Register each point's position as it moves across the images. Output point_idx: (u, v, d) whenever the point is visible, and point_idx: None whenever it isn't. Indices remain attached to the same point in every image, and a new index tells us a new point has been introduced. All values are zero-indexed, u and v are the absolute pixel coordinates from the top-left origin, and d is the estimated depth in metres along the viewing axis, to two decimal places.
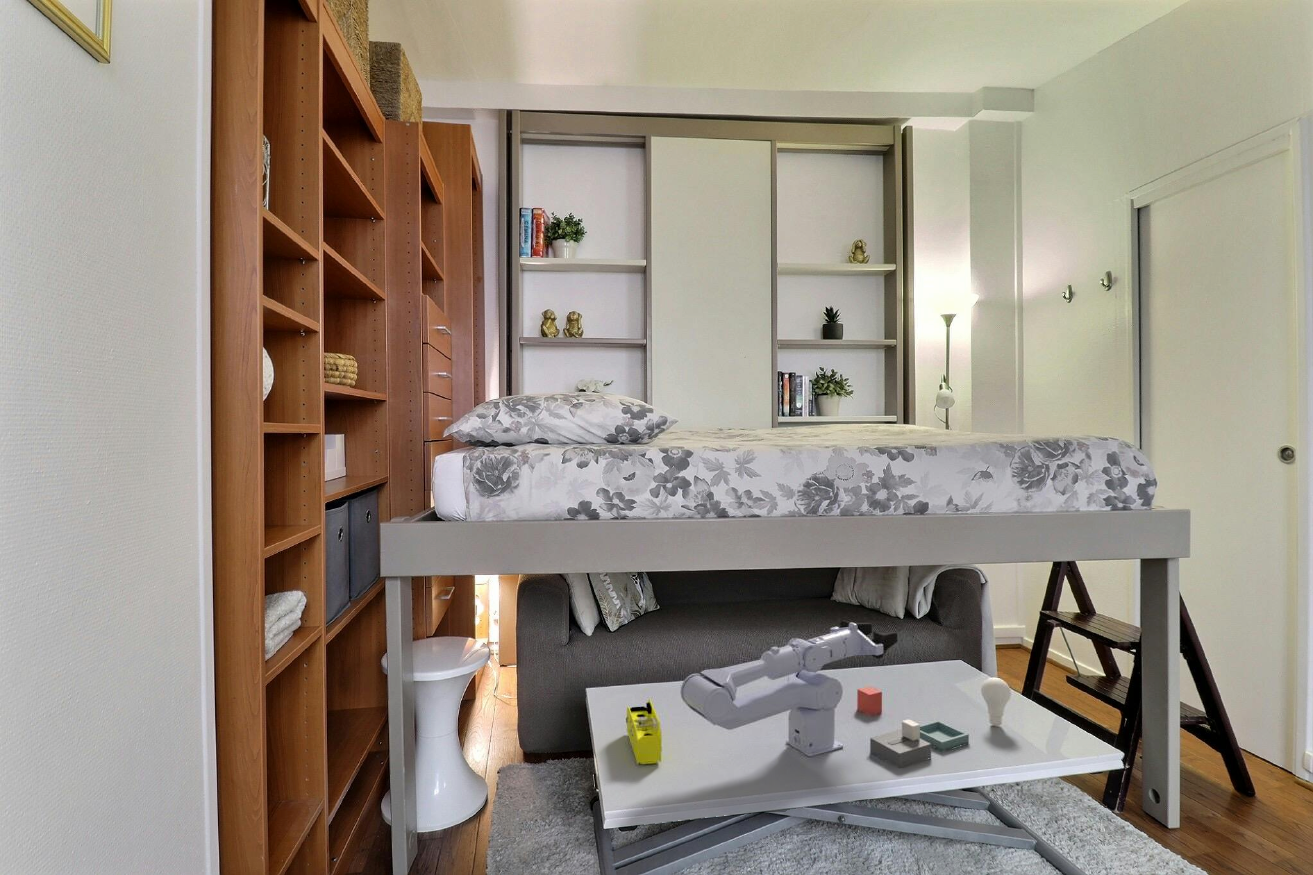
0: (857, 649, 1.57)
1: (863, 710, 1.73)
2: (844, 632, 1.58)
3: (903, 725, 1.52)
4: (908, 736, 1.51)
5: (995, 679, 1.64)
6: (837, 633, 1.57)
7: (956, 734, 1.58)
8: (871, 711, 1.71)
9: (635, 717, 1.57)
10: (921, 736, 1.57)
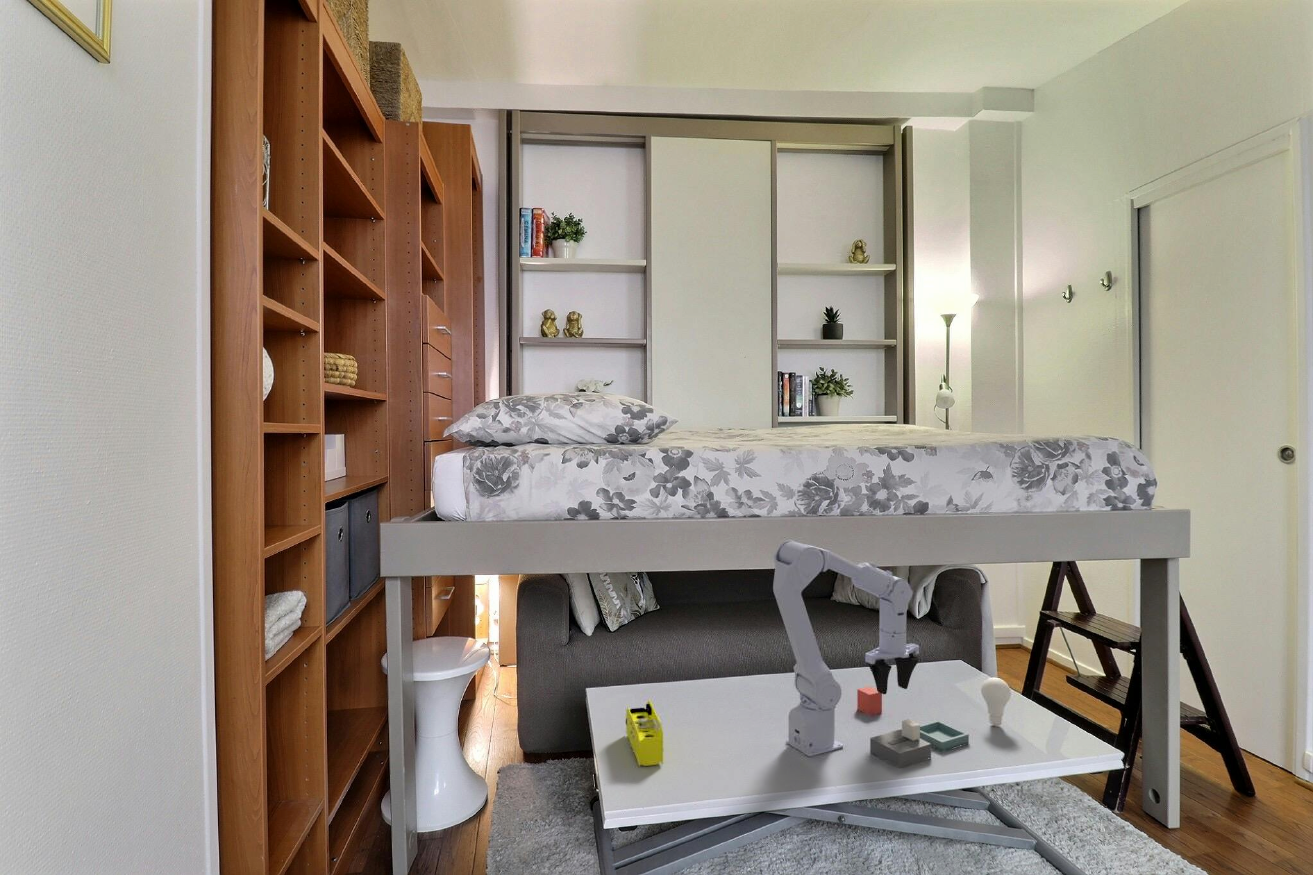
0: (880, 644, 1.61)
1: (863, 710, 1.73)
2: (900, 640, 1.59)
3: (903, 725, 1.52)
4: (908, 736, 1.51)
5: (995, 679, 1.64)
6: (901, 633, 1.59)
7: (956, 734, 1.58)
8: (871, 711, 1.71)
9: (635, 719, 1.57)
10: (921, 736, 1.57)
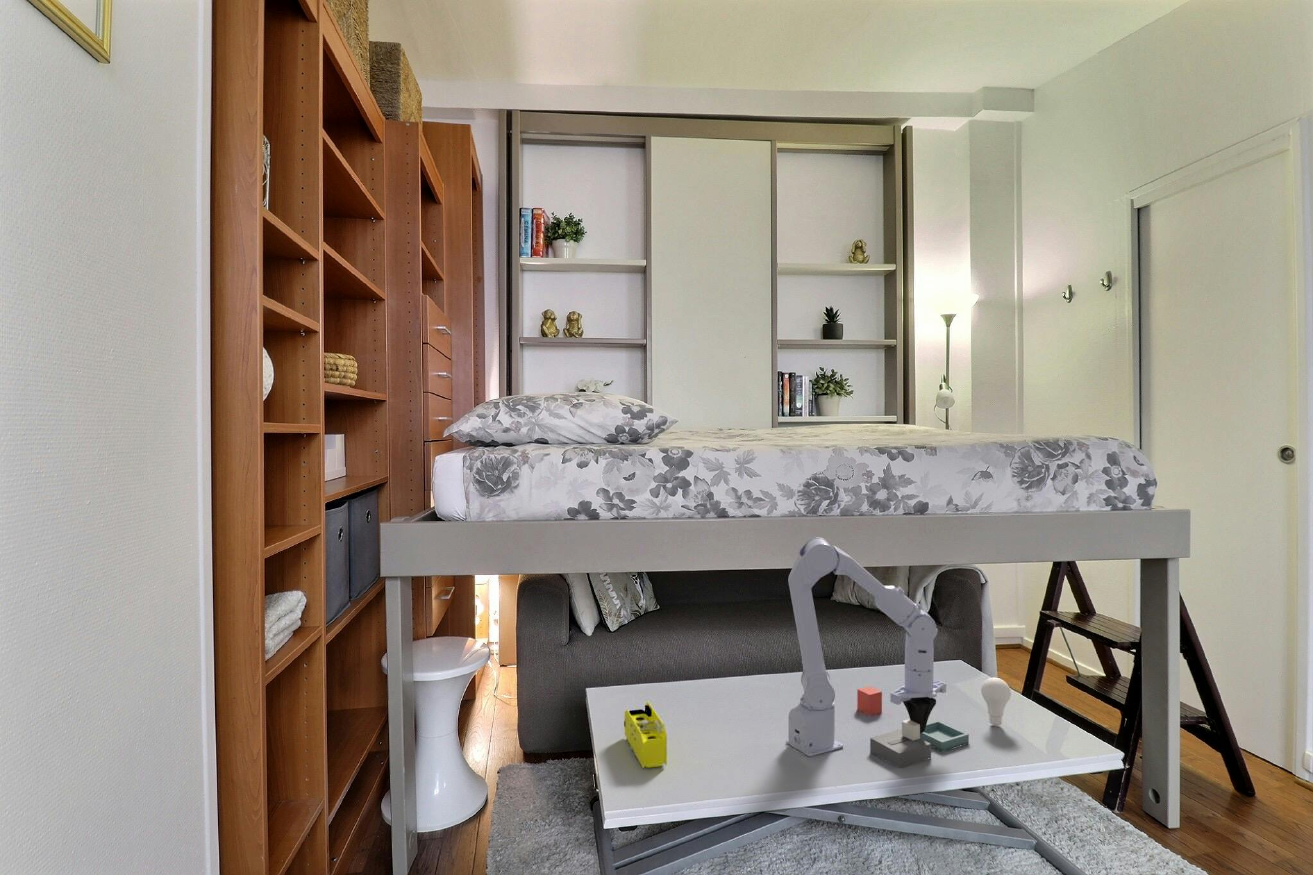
0: (906, 682, 1.52)
1: (863, 710, 1.73)
2: (927, 679, 1.50)
3: (903, 725, 1.52)
4: (908, 736, 1.51)
5: (995, 679, 1.64)
6: (928, 671, 1.50)
7: (956, 734, 1.58)
8: (871, 711, 1.71)
9: (634, 721, 1.56)
10: (921, 736, 1.57)
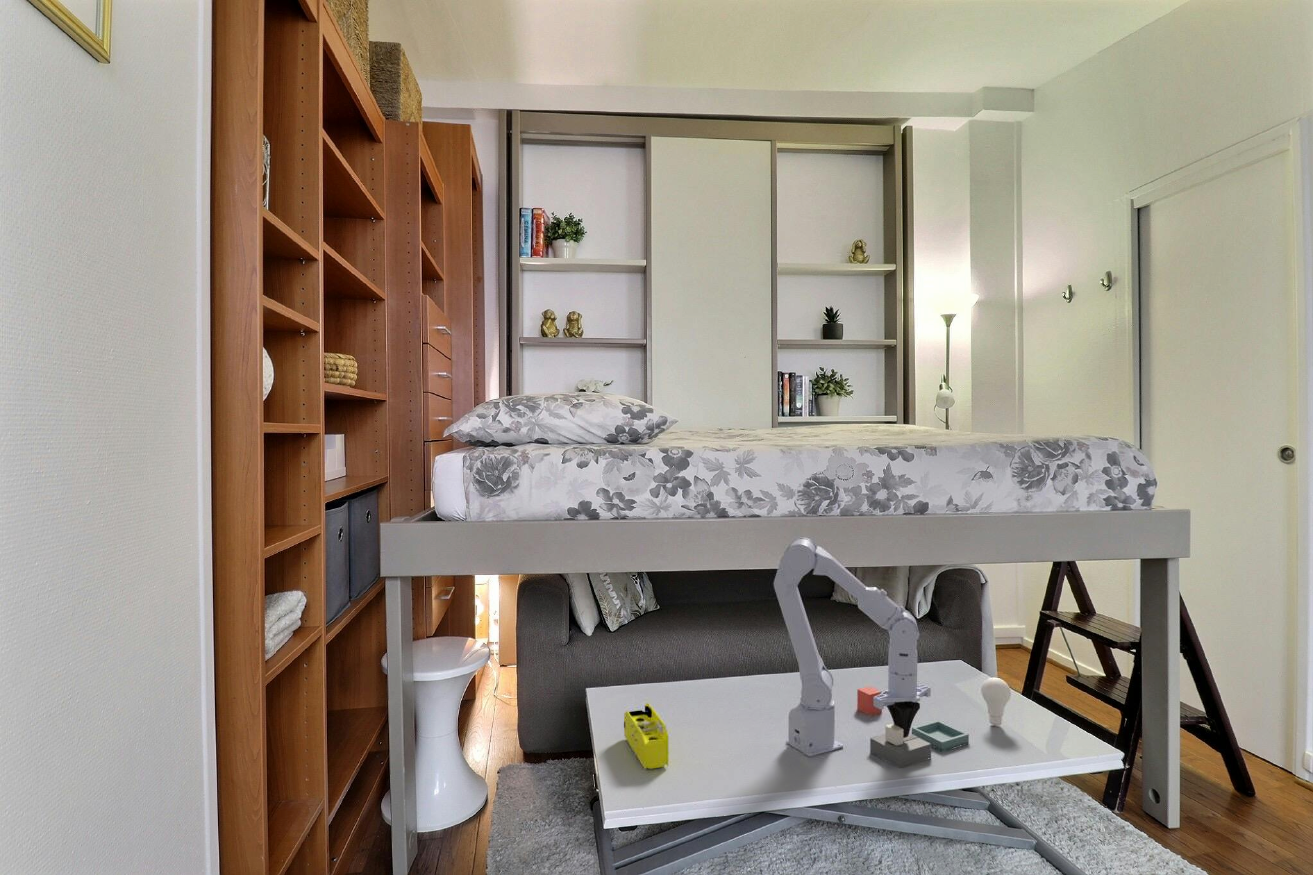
0: (890, 686, 1.50)
1: (863, 710, 1.72)
2: (910, 683, 1.48)
3: (886, 730, 1.50)
4: (891, 741, 1.49)
5: (995, 679, 1.64)
6: (912, 675, 1.48)
7: (956, 734, 1.58)
8: (871, 711, 1.71)
9: (635, 722, 1.55)
10: (921, 736, 1.57)
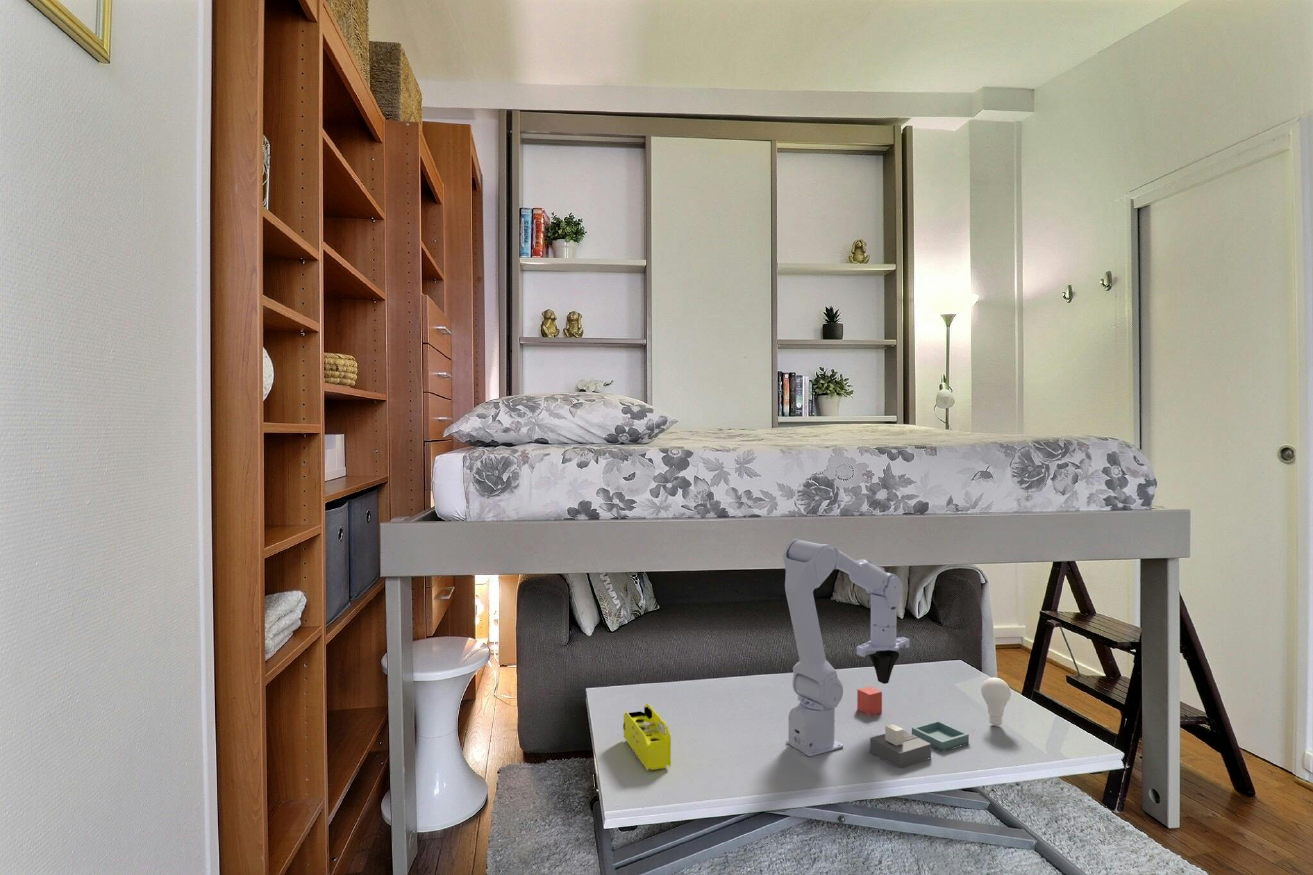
0: (871, 637, 1.66)
1: (863, 710, 1.72)
2: (890, 634, 1.64)
3: (886, 730, 1.50)
4: (891, 741, 1.49)
5: (995, 679, 1.64)
6: (891, 626, 1.64)
7: (956, 734, 1.58)
8: (871, 711, 1.71)
9: (635, 723, 1.55)
10: (921, 736, 1.57)
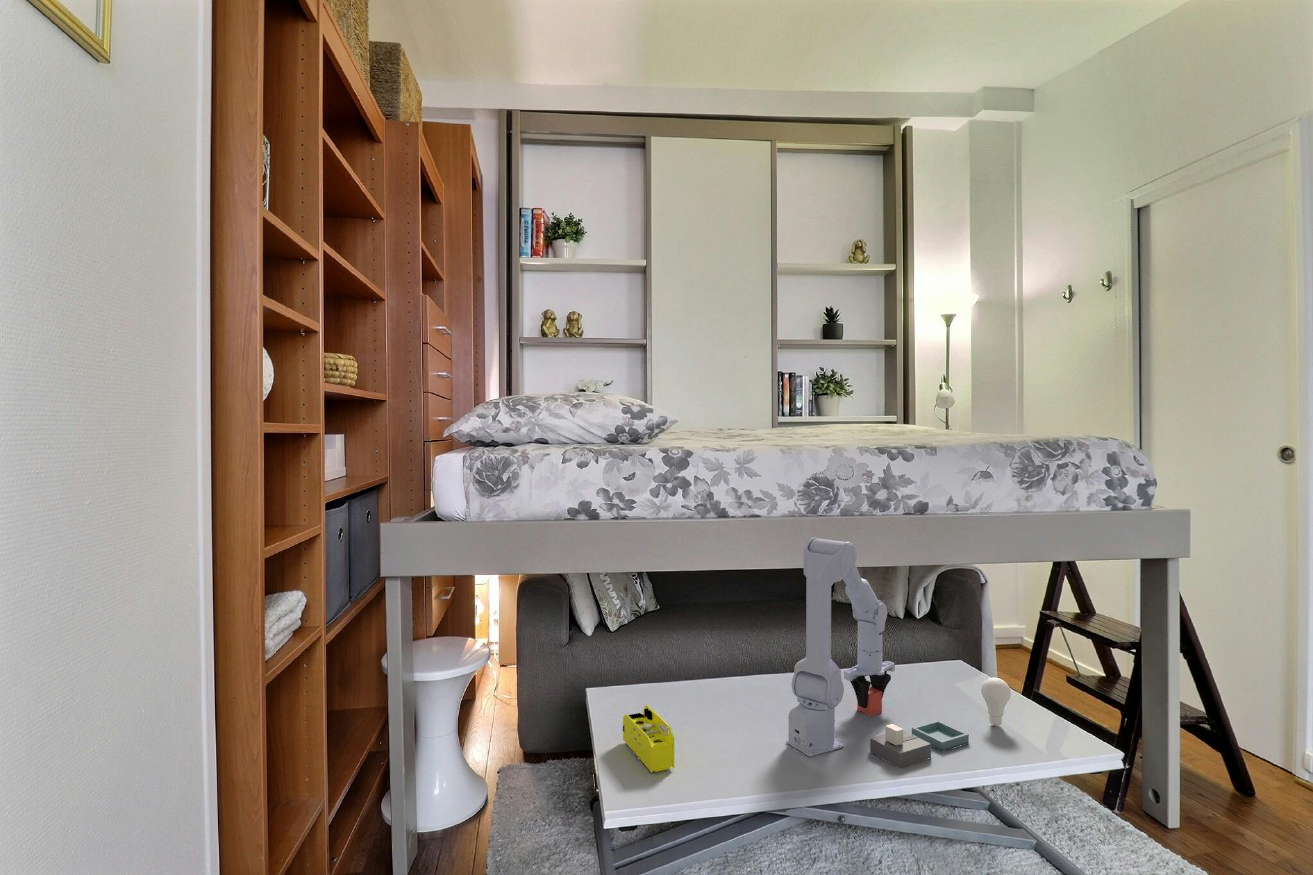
0: (858, 662, 1.73)
1: (863, 710, 1.72)
2: (876, 659, 1.70)
3: (886, 730, 1.50)
4: (891, 741, 1.49)
5: (995, 679, 1.64)
6: (877, 652, 1.71)
7: (956, 734, 1.58)
8: (871, 711, 1.71)
9: None
10: (921, 736, 1.57)
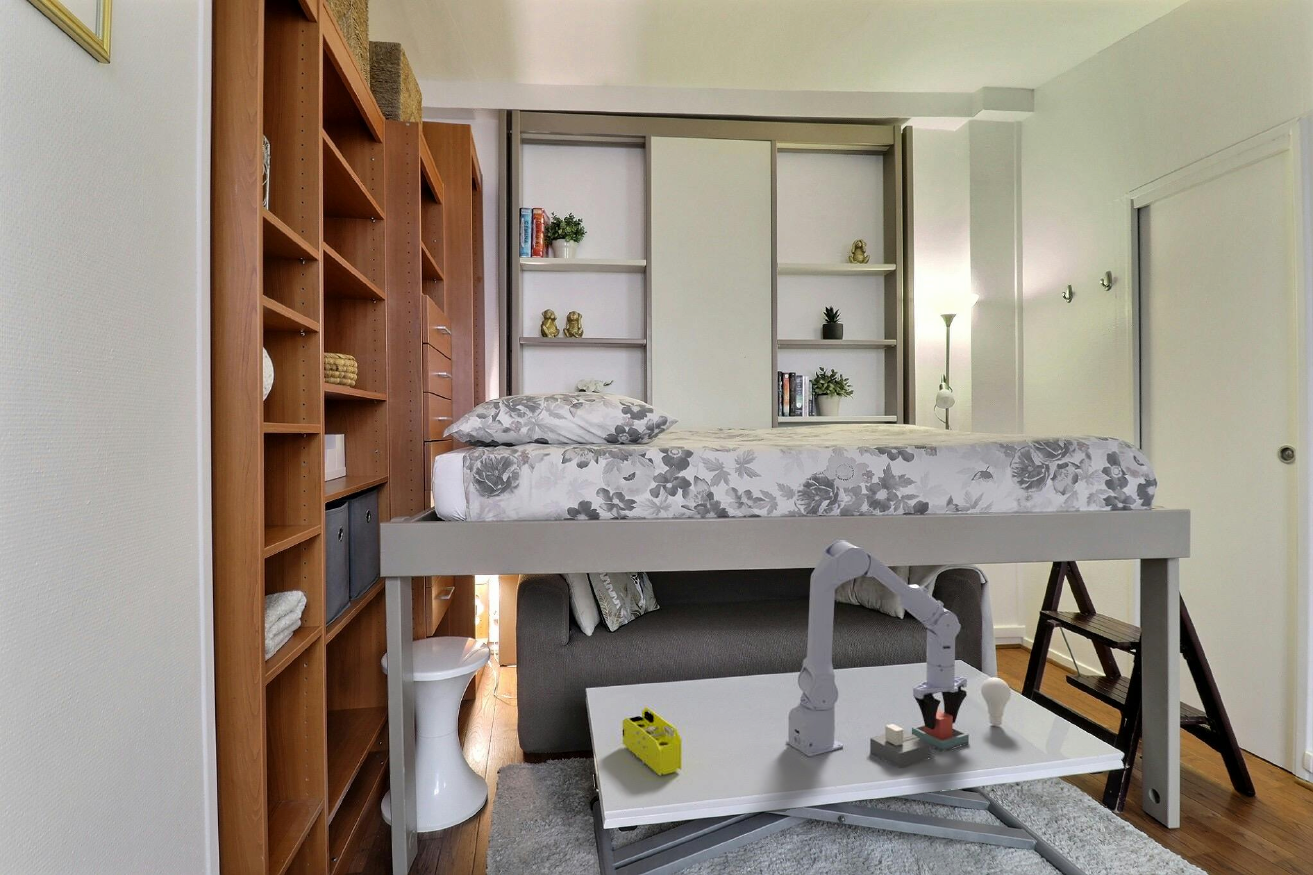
0: (928, 677, 1.57)
1: None
2: (949, 674, 1.55)
3: (886, 730, 1.50)
4: (891, 741, 1.49)
5: (995, 679, 1.64)
6: (950, 666, 1.55)
7: (956, 734, 1.58)
8: (941, 738, 1.55)
9: None
10: (921, 736, 1.57)
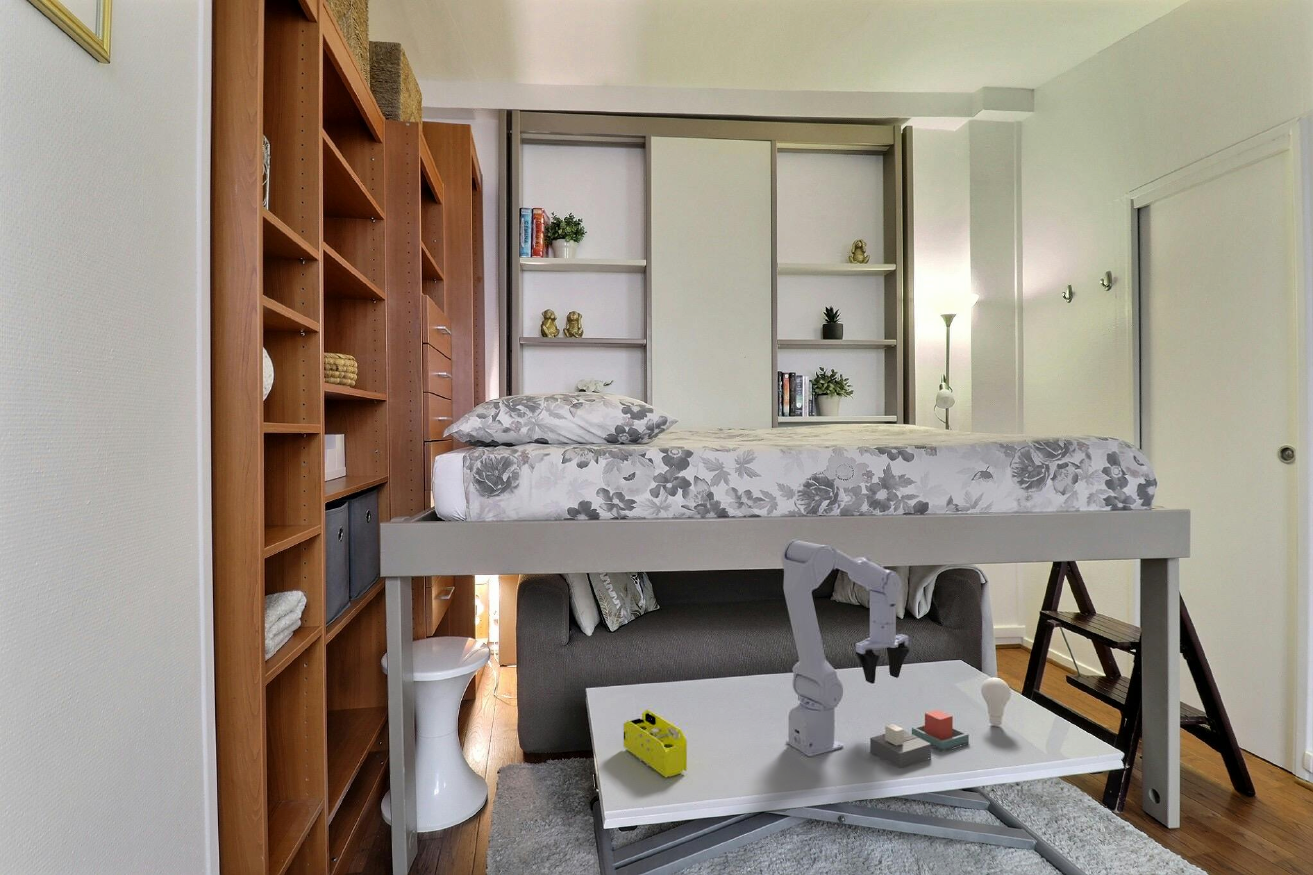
0: (871, 634, 1.66)
1: None
2: (889, 631, 1.64)
3: (886, 730, 1.50)
4: (891, 741, 1.49)
5: (995, 679, 1.64)
6: (891, 623, 1.64)
7: (956, 734, 1.58)
8: (941, 738, 1.55)
9: None
10: (921, 736, 1.57)
